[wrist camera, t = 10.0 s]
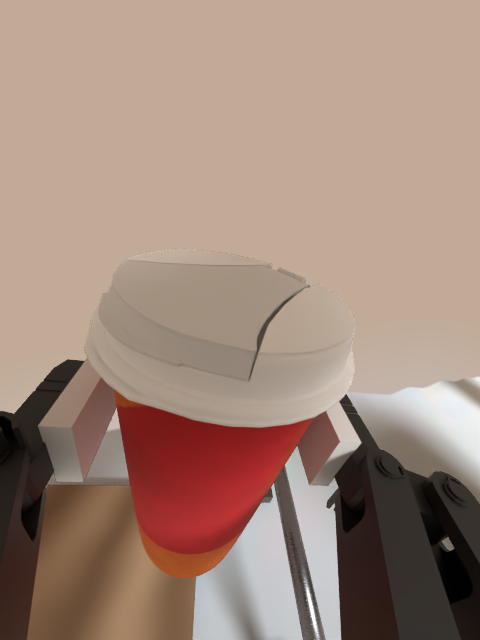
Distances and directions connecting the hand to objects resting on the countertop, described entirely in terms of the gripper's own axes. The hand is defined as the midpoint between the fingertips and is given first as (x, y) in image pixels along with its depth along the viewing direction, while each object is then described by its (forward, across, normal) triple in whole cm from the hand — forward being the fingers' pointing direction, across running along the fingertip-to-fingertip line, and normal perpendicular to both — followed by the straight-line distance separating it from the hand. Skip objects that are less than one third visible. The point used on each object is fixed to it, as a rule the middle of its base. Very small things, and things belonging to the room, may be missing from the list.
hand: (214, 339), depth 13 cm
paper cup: (-4, 0, -9) cm, 10 cm away
